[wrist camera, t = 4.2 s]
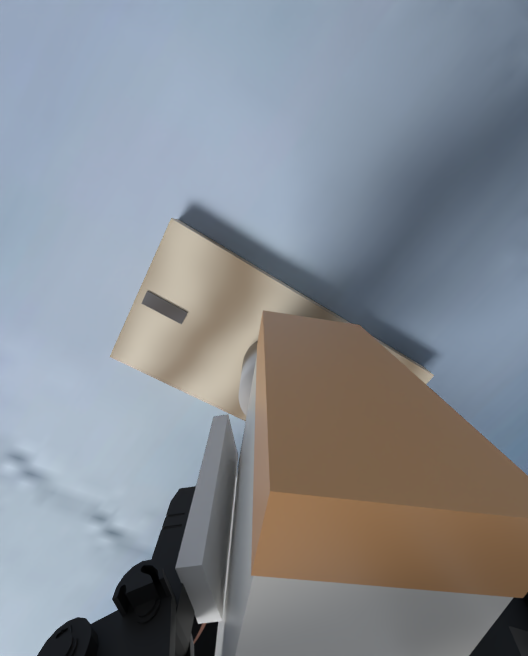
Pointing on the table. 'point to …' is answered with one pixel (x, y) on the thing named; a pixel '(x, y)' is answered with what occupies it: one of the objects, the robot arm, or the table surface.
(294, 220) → the table surface
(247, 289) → the lock board
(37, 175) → the table surface
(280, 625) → the orange-capped white bar
